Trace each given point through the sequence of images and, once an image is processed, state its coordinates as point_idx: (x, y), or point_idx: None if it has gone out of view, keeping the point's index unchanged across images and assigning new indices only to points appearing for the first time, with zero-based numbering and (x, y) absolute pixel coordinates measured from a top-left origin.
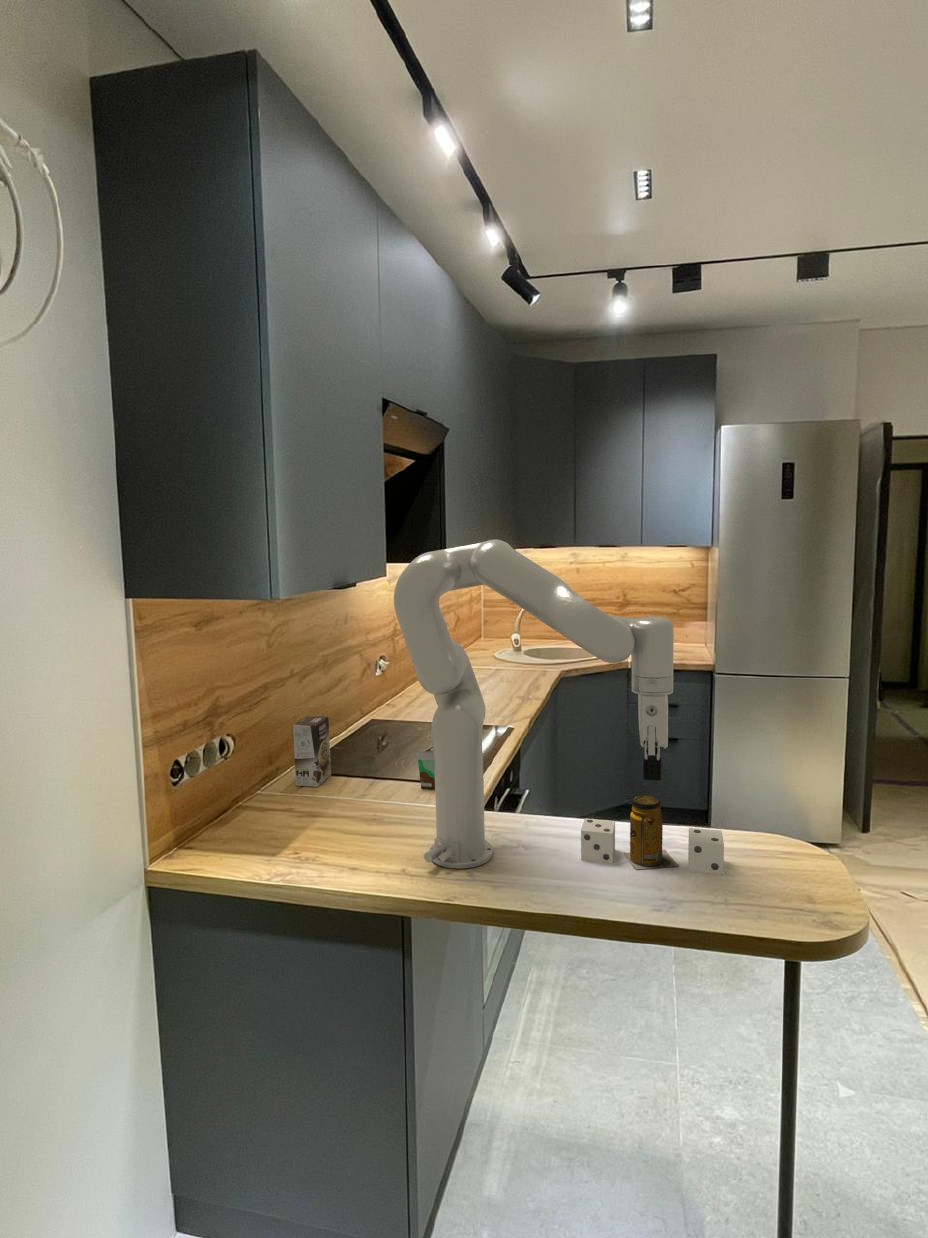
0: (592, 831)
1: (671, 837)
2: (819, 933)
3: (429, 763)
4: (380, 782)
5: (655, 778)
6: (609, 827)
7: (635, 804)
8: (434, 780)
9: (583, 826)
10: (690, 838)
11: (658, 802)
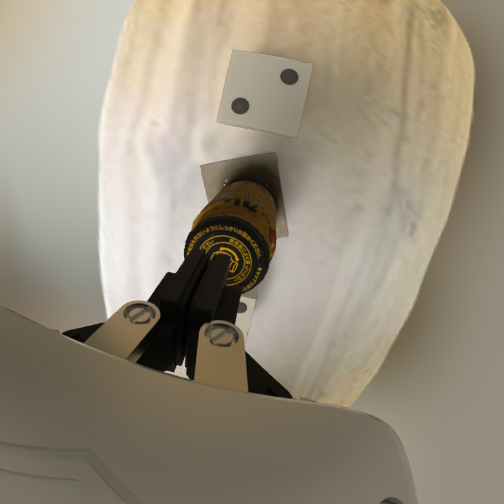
0: (246, 331)
1: (144, 145)
2: (458, 41)
3: None
4: None
5: (226, 278)
6: None
7: (246, 291)
8: None
9: None
10: (282, 131)
11: (241, 228)
